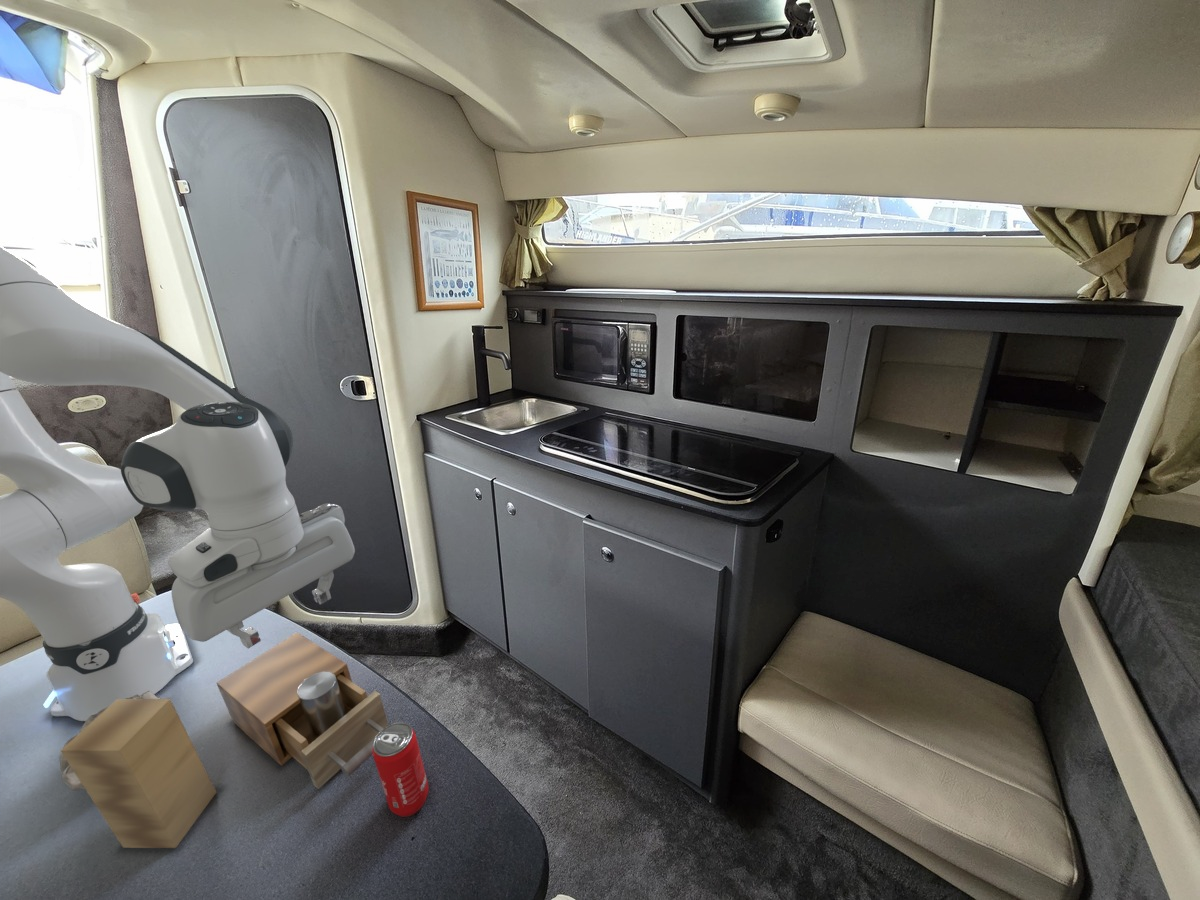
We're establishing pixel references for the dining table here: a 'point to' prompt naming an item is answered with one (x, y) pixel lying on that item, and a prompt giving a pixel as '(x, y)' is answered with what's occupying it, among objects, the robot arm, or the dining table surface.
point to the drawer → (334, 734)
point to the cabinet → (274, 688)
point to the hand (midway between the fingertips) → (289, 620)
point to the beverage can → (400, 769)
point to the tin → (321, 702)
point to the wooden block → (141, 772)
